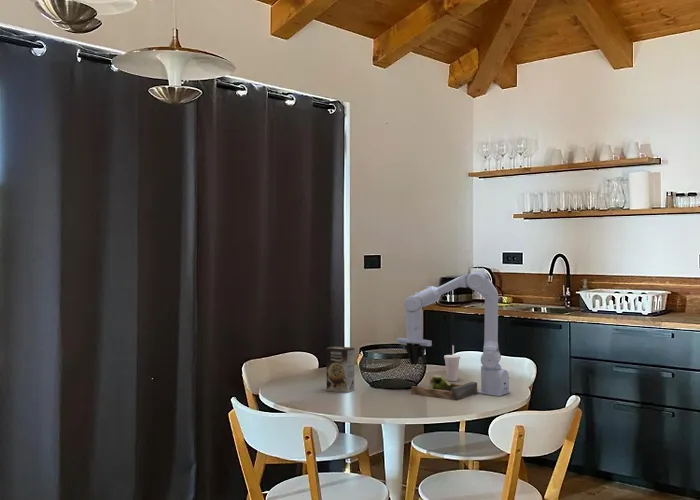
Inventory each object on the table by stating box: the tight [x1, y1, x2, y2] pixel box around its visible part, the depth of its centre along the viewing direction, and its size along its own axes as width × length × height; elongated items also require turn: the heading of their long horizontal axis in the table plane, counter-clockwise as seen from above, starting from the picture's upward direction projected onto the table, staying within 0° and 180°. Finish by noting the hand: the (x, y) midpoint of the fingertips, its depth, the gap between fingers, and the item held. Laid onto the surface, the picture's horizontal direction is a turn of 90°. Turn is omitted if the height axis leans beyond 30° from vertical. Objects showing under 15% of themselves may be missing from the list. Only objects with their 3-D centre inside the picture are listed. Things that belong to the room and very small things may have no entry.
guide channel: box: [411, 381, 478, 401], centre depth 247 cm, size 19×14×4 cm
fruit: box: [428, 374, 452, 391], centre depth 249 cm, size 9×9×8 cm
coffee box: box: [325, 345, 356, 394], centre depth 255 cm, size 9×6×16 cm
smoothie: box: [443, 344, 461, 382], centre depth 272 cm, size 6×6×14 cm
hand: (414, 364), depth 255 cm, fingers closed
